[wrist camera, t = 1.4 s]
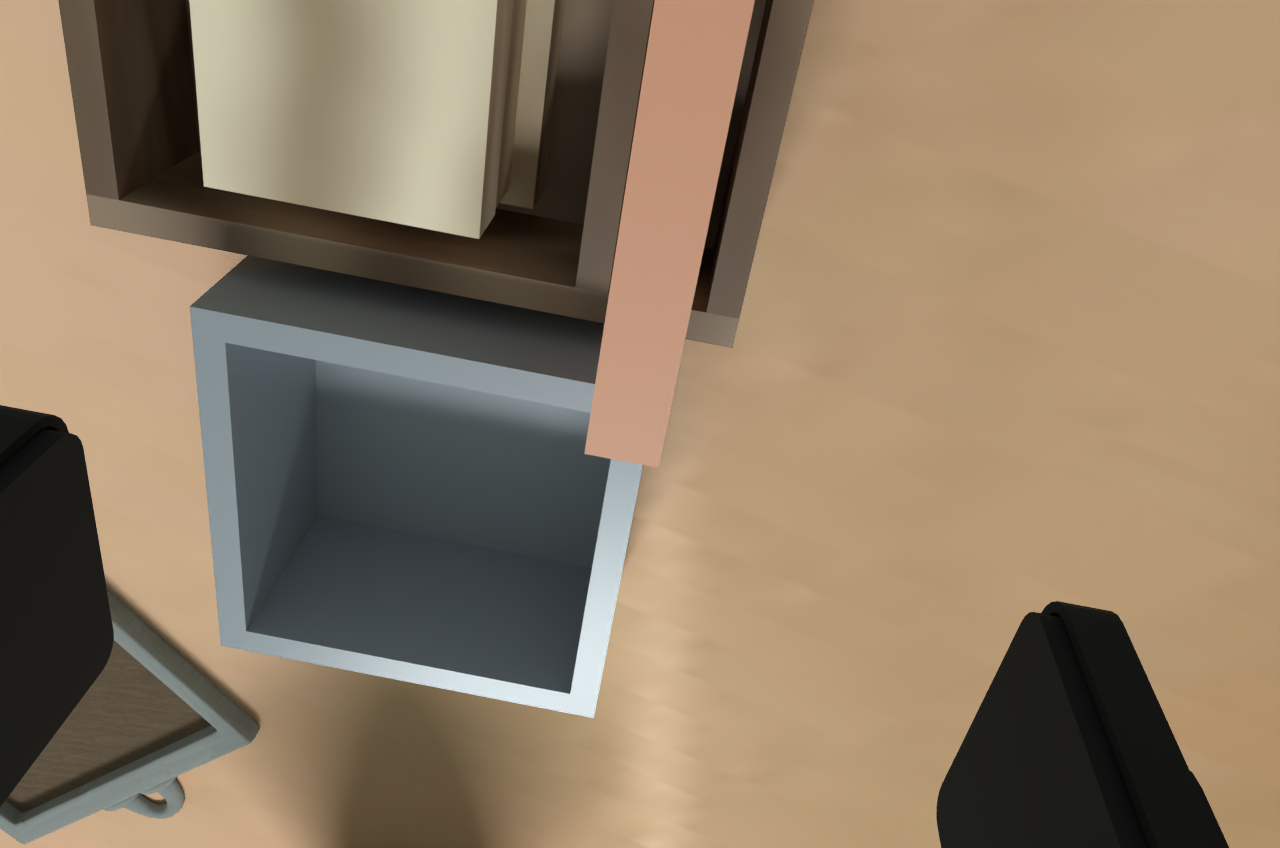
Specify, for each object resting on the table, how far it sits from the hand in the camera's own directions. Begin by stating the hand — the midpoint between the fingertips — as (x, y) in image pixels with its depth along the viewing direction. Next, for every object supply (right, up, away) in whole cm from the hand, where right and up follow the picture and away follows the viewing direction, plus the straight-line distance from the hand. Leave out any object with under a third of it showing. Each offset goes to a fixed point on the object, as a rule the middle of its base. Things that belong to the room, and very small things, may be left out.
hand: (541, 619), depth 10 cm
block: (+3, +13, +21) cm, 25 cm away
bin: (-6, +3, +30) cm, 31 cm away
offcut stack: (-6, +15, +21) cm, 27 cm away
